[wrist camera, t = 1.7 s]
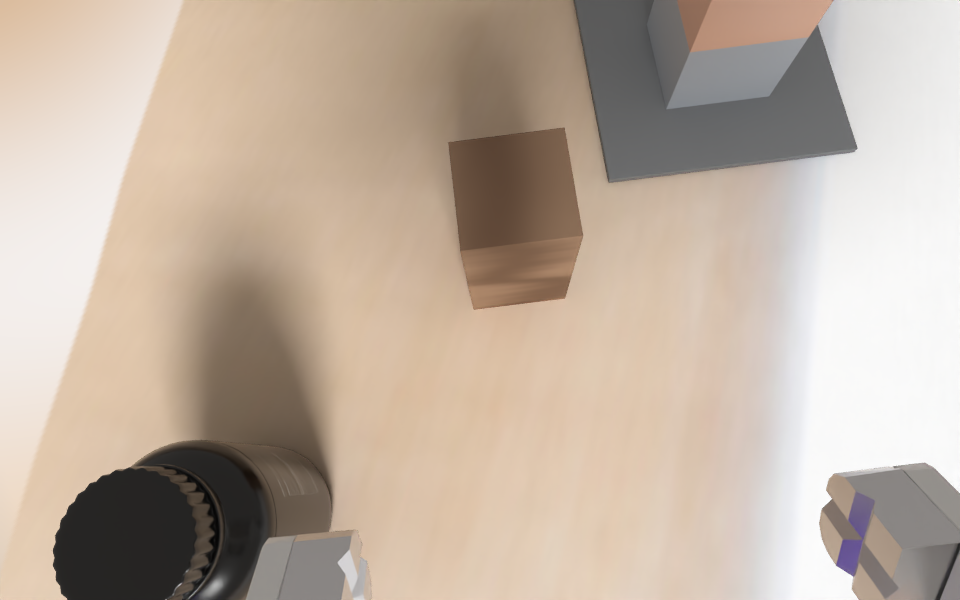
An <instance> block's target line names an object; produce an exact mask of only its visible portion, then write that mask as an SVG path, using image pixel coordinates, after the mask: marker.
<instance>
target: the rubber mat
mask: <svg viewBox="0 0 960 600" xmlns="http://www.w3.org/2000/svg"><path fill="white" fill-rule="evenodd" d="M653 2H654V0H574V3H575V8H576V14H577V19H578V24H579V29H580V35H581V40H582V45H583V50H584V56H585V61H586V66H587V71H588V77H589V82H590V87H591V92H592V98H593V103H594V108H595V113H596V119H597V124H598V129H599V134H600V140H601V145H602V150H603V156H604V161H605V166H606V171H607V177H608V182H609V183H610V182H618V181H626V180H634V179H642V178H650V177H658V176H666V175H674V174H682V173H690V172H698V171H706V170H714V169H722V168H730V167H738V166H746V165H754V164H762V163H770V162H778V161H786V160H794V159H802V158H810V157H818V156H826V155H834V154H842V153H850V152H854V151H855V150H856V149H857V145H856V142H855V139H854V136H853V133H852V130H851V127H850V124H849V121H848V117H847V114H846V111H845V108H844V105H843V102H842V99H841V96H840V93H839V90H838V87H837V83H836V80H835V77H834V74H833V71H832V68H831V65H830V62H829V59H828V56H827V53H826V49H825V46H824V43H823V40H822V37H821V34H820V31H819V28H818V25H817V26H816V27H815V29H814V30H813V32H812V33H811V35H810V36H809V38H808V39H807V41H806V42H805V44H804V45H803V47H802V48H801V49H800V51H799V52H798V54H797V55H796V57H795V58H794V60H793V61H792V63H791V64H790V66H789V67H788V69H787V70H786V72H785V73H784V75H783V76H782V78H781V79H780V81H779V82H778V84H777V85H776V87H775V88H774V90H773V91H772V93H771V94H770V96H768V97H760V98H752V99H744V100H737V101H729V102H721V103H713V104H705V105H697V106H689V107H681V108H674V109H666V106H665V102H664V98H663V93H662V89H661V84H660V80H659V76H658V71H657V67H656V63H655V58H654V54H653V49H652V45H651V41H650V36H649V32H648V27H647V22H648V19H649V16H650V12H651V9H652V5H653Z"/></svg>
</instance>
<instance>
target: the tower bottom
mask: <svg viewBox="0 0 960 600" xmlns="http://www.w3.org/2000/svg"><path fill="white" fill-rule="evenodd" d="M647 27H648V32H649V36H650V41H651V45H652V49H653V54H654V58H655V63H656V67H657V71H658V76H659V80H660V84H661V89H662V93H663V98H664V102H665V106H666V109H674V108H681V107H689V106H697V105H705V104H713V103H721V102H729V101H737V100H744V99H752V98H760V97H768V96H770V94H771V93H772V91H773V90H774V88H775V87H776V85H777V84H778V82H779V81H780V79H781V78H782V76H783V75H784V73H785V72H786V70H787V69H788V67H789V66H790V64H791V63H792V61H793V60H794V58H795V57H796V55H797V54H798V52H799V51H800V49H801V48H802V47H803V45H804V44H805V42H806V41H807V39H808V38H809V37H807V38H799V39H791V40H783V41H776V42H768V43H760V44H752V45H745V46H737V47H729V48H721V49H713V50H706V51H698V52H690V51H689V47H688V43H687V39H686V35H685V31H684V27H683V23H682V18H681V14H680V10H679V6H678V2H677V0H654V2H653V5H652V9H651V12H650V16H649V19H648V22H647Z"/></svg>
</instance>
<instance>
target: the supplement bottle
mask: <svg viewBox="0 0 960 600" xmlns="http://www.w3.org/2000/svg"><path fill="white" fill-rule="evenodd" d="M331 512H332V509H331V500H330V495H329V491H328V488H327V485H326V483H325V481H324V479H323V477H322V475H321V474H320V472H319V471H318V470H317V468H316V467H315V466H314V465H313V464H312V463H311V462H310V461H309V460H307V459H306V458H305V457H303V456H302V455H300V454H298V453H296V452H294V451H291V450H289V449H285V448H281V447H275V446H267V445H255V444H244V443H232V442H221V441H208V440H192V441H182V442H177V443H173V444H169V445H167V446H164V447H161V448H159V449H157V450H155V451H153V452H151V453H149V454H147V455H146V456H144V457H143V458H141V459H140V460H138V461H137V462H136V463H135V464H134V465H132V466H131V467H129V468H127V469H118V470H115V471H114V472H112V473H111V474H108V475H103V476H101V477H100V478H99V479H98V480H97V481H96V482H93V483H90V484H89V485H88V487H87V488H86V489H85V491H83V492H81V493H79V494H78V496H77V497H76V500H75V502H74V503H72V504H71V505H70V506H69V507H68V510H67V513H66V515H65V516H64V517H63V518H62V520H61V522H60V529H59V530H58V531H57V533H56V535H55V540H56V543H55V546H54V548H53V554H54V557H55V558H54V562H53V567H54V569H55V571H56V581H57V583H58V584H59V585H60V589H61V594H62V595H63V596H65V597H66V598H67V600H246V597H247V594H248V591H249V588H250V585H251V581H252V578H253V575H254V572H255V569H256V565H257V562H258V559H259V556H260V553H261V550H262V547H263V545H264V544H265V542H266V541H267V539H268V538H273V537H283V536H294V535H301V534H312V533H323V532H329V529H330V525H331Z"/></svg>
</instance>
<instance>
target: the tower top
mask: <svg viewBox="0 0 960 600" xmlns="http://www.w3.org/2000/svg"><path fill="white" fill-rule="evenodd" d="M677 2H678V6H679V10H680V14H681V18H682V23H683V27H684V31H685V35H686V39H687V43H688V47H689V51H690V52H698V51H706V50H713V49H721V48H729V47H737V46H745V45H752V44H760V43H768V42H776V41H783V40H791V39H799V38H807V37H809V36H810V35H811V33H812V32H813V30H814V29H815V27H816V26H817V24H818V23H819V21H820V20H821V18H822V17H823V15H824V14H825V12H826V11H827V9H828V8H829V6H830V5H831V3H832V2H833V0H677Z"/></svg>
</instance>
